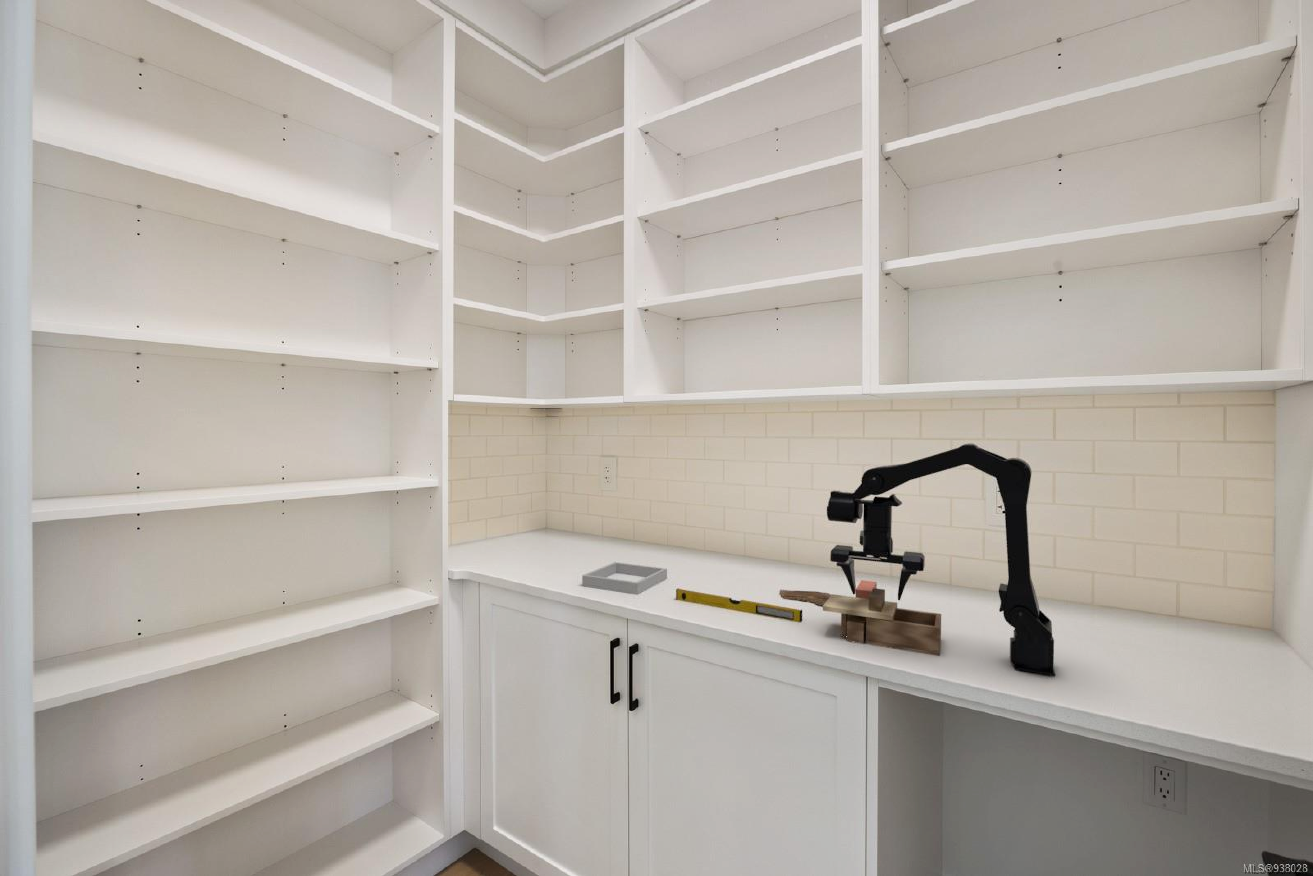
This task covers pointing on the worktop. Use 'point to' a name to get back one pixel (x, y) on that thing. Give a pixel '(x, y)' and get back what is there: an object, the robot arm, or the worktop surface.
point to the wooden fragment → (806, 596)
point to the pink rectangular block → (865, 589)
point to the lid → (862, 605)
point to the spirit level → (740, 605)
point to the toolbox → (896, 630)
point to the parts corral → (599, 581)
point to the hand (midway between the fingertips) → (876, 596)
